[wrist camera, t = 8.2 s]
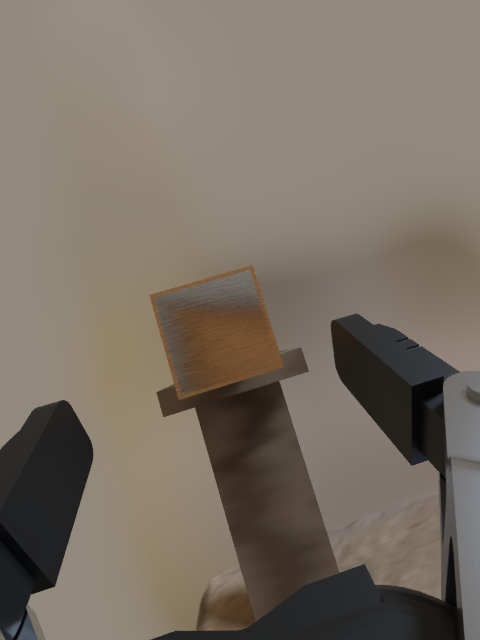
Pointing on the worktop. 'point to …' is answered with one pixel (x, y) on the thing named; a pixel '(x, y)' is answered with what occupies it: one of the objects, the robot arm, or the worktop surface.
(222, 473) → the post
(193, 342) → the grey and tan bar
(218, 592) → the worktop surface
